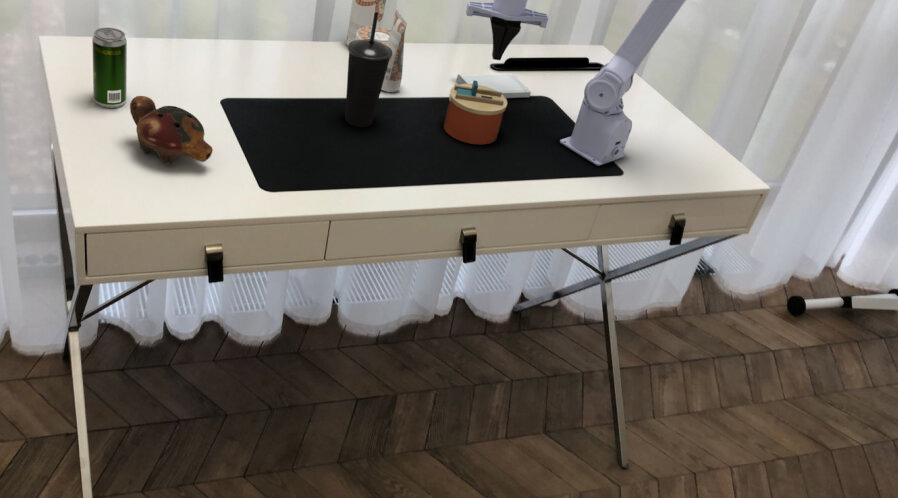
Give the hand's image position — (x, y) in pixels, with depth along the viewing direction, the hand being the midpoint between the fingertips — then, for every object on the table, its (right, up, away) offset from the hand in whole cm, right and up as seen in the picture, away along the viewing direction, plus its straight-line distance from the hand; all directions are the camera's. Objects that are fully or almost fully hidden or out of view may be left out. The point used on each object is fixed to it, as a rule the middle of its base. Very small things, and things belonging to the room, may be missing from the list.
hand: (496, 57), depth 179 cm
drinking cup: (-25, -13, -6) cm, 29 cm away
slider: (-6, -8, -6) cm, 12 cm away
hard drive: (+1, -3, +14) cm, 14 cm away
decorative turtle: (-55, -22, -25) cm, 64 cm away
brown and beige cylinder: (-5, -14, -2) cm, 15 cm away
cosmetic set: (-22, +1, +13) cm, 26 cm away
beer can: (-67, -11, -15) cm, 69 cm away
